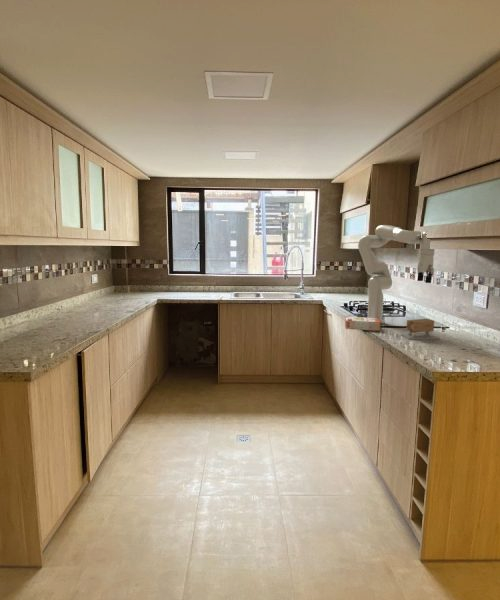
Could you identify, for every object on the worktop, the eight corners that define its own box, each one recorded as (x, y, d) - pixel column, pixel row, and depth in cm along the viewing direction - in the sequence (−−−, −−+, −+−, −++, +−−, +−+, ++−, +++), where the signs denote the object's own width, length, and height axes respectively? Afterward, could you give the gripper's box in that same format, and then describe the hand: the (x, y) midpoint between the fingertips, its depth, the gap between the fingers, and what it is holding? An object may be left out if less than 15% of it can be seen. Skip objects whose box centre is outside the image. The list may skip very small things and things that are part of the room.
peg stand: (400, 335, 218) (401, 328, 218) (430, 335, 219) (430, 328, 219) (408, 339, 208) (409, 332, 208) (439, 339, 209) (440, 332, 209)
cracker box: (381, 321, 227) (345, 320, 231) (380, 331, 228) (345, 329, 232) (378, 317, 240) (344, 316, 245) (377, 326, 241) (344, 325, 246)
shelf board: (406, 330, 214) (407, 320, 213) (425, 328, 218) (426, 318, 217) (414, 332, 208) (414, 322, 207) (433, 330, 213) (434, 320, 212)
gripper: (414, 252, 227) (411, 280, 230) (428, 253, 210) (425, 283, 213) (426, 252, 227) (423, 280, 230) (441, 253, 210) (437, 283, 213)
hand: (424, 281), depth 221 cm, fingers open, 9 cm apart
